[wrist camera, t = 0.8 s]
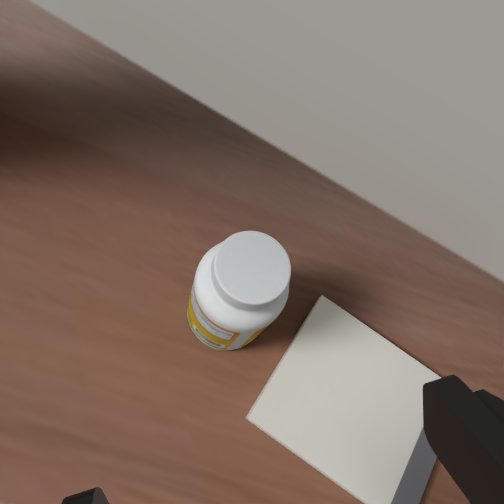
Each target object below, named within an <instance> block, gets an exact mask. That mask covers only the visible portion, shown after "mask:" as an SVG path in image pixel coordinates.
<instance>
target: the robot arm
mask: <svg viewBox="0 0 504 504" xmlns="http://www.w3.org/2000/svg"><path fill="white" fill-rule="evenodd" d="M423 427H424V432H425V435H426V438H427V440H428V443H429V445H430V447H431V448H432V450H433V452H434V453H435V455H436V456H437V457H438V459H439V460H440V461H441V463H442V464H443V466H444V467H445V468H446V470H447V471H448V473H449V474H450V475H451V477H452V478H453V480H454V481H455V482H456V484H457V485H458V486H459V488H460V489H461V491H462V492H463V493H464V495H465V496H466V498H467V499H468V500H469V502H470V503H471V504H504V401H503V400H502V399H500V398H498V397H496V396H494V395H492V394H491V393H489V392H487V391H485V390H483V389H482V390H479V391H476V392H472V391H471V390H470V389H469V388H468V387H467V386H466V384H465V383H464V382H463V381H462V380H461V379H460V378H458V377H457V376H455V375H449V376H446V377H443V378H440V379H437V380H434V381H431V382H428V383H425V384H424V385H423ZM62 504H109V502H108V500H107V498H106V497H105V495H104V493H103V491H102V489H101V488H99V487H96V488H93V489H90V490H87V491H84V492H81V493H78V494H75V495H71V496H68V497H66V498H64V499H63V501H62Z"/></svg>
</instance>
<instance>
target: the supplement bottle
mask: <svg viewBox="0 0 504 504" xmlns="http://www.w3.org/2000/svg"><path fill="white" fill-rule="evenodd" d="M290 276H291V264H290V260H289V257H288V255H287V253H286V251H285V249H284V248H283V247H282V245H281V244H280V243H279V242H278V241H276V240H275V239H274V238H272V237H271V236H269V235H267V234H265V233H262V232H257V231H243V232H238V233H236V234H233V235H231V236H230V237H228V238H227V239H226V240H225V241H224V242H221V243H219V244H217V245H216V246H214V247H213V248H211V249H210V250H209V251H208V252H207V253H206V254H205V255H204V257H203V258H202V260H201V261H200V263H199V265H198V268H197V271H196V274H195V278H194V282H193V286H192V290H191V294H190V297H189V301H188V309H187V315H188V321H189V324H190V327H191V329H192V330H193V332H194V334H195V335H196V336H197V337H198V338H199V339H200V340H201V341H202V342H203V343H204V344H206V345H208V346H210V347H212V348H215V349H219V350H234V349H238V348H241V347H243V346H245V345H247V344H248V343H250V342H251V341H252V340H253V339H254V338H256V337H257V336H258V335H259V334H260V333H261V332H262V331H263V330H264V329H265V328H266V327H267V326H268V325H270V324H271V323H272V322H273V321H274V320H275V319H276V318H277V317H278V315H279V314H280V313H281V311H282V310H283V308H284V306H285V304H286V302H287V299H288V294H289V281H290Z"/></svg>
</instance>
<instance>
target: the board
mask: <svg viewBox="0 0 504 504" xmlns="http://www.w3.org/2000/svg"><path fill="white" fill-rule="evenodd" d="M440 378H441V377H440V376H438V375H437V374H435V373H434V372H432V371H431V370H430V369H428V368H427V367H425V366H424V365H422V364H421V363H419V362H418V361H417V360H415V359H414V358H412V357H411V356H409V355H408V354H407V353H405V352H404V351H402V350H401V349H399V348H398V347H396V346H395V345H394V344H392V343H391V342H389V341H388V340H386V339H385V338H383V337H382V336H381V335H379V334H378V333H376V332H375V331H373V330H372V329H371V328H369V327H368V326H366V325H365V324H363V323H362V322H360V321H359V320H358V319H356V318H355V317H353V316H352V315H350V314H349V313H348V312H346V311H345V310H343V309H342V308H340V307H339V306H337V305H336V304H335V303H333V302H332V301H330V300H329V299H327V298H326V297H324V296H323V295H321V296H320V297H319V298H318V299H317V301H316V303H315V304H314V306H313V308H312V309H311V311H310V313H309V314H308V316H307V318H306V319H305V321H304V322H303V324H302V326H301V327H300V329H299V331H298V332H297V334H296V336H295V337H294V339H293V341H292V342H291V344H290V345H289V347H288V349H287V350H286V352H285V354H284V355H283V357H282V359H281V360H280V362H279V364H278V365H277V367H276V369H275V370H274V372H273V373H272V375H271V377H270V378H269V380H268V382H267V383H266V385H265V387H264V388H263V390H262V392H261V393H260V395H259V396H258V398H257V400H256V401H255V403H254V405H253V406H252V408H251V410H250V411H249V413H248V415H247V416H246V418H245V419H247V420H248V421H250V422H251V423H252V424H254V425H255V426H257V427H258V428H259V429H261V430H262V431H264V432H265V433H266V434H268V435H269V436H270V437H272V438H273V439H275V440H276V441H277V442H279V443H280V444H282V445H283V446H284V447H286V448H287V449H289V450H290V451H291V452H293V453H294V454H296V455H297V456H298V457H300V458H301V459H303V460H304V461H305V462H307V463H308V464H310V465H311V466H312V467H314V468H315V469H316V470H318V471H319V472H321V473H322V474H323V475H325V476H326V477H328V478H329V479H330V480H332V481H333V482H335V483H336V484H337V485H339V486H340V487H342V488H343V489H344V490H346V491H347V492H349V493H350V494H351V495H353V496H354V497H355V498H357V499H358V500H360V501H361V502H362V503H364V504H419V503H420V500H421V498H422V495H423V492H424V490H425V487H426V485H427V482H428V480H429V477H430V474H431V472H432V469H433V467H434V464H435V462H436V459H437V456H436V455H435V453H434V452H433V450H432V448H431V447H430V445H429V443H428V440H427V438H426V435H425V432H424V427H423V385H424V384H425V383H428V382H431V381H434V380H437V379H440Z"/></svg>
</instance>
